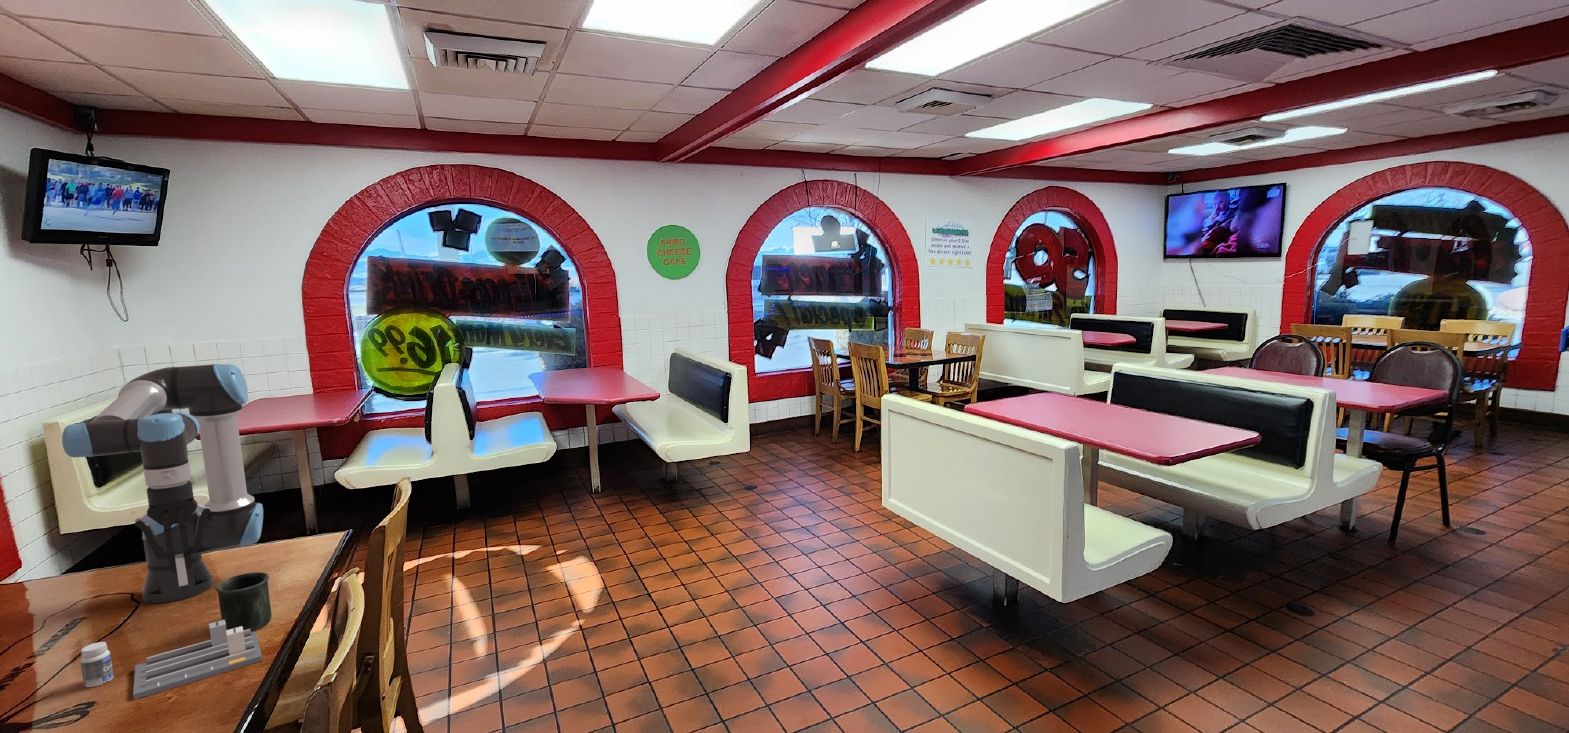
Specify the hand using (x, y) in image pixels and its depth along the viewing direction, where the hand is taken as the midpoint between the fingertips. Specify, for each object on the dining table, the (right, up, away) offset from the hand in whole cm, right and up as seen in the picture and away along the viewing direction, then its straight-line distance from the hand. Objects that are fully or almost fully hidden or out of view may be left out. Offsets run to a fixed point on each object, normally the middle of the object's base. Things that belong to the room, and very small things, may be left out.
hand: (183, 583), depth 156 cm
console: (+1, -20, +3) cm, 20 cm away
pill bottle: (-16, -21, -3) cm, 27 cm away
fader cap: (+8, -18, +6) cm, 20 cm away
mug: (-3, -18, +22) cm, 29 cm away
